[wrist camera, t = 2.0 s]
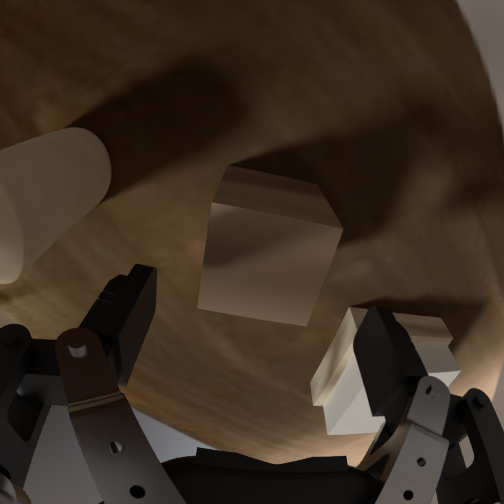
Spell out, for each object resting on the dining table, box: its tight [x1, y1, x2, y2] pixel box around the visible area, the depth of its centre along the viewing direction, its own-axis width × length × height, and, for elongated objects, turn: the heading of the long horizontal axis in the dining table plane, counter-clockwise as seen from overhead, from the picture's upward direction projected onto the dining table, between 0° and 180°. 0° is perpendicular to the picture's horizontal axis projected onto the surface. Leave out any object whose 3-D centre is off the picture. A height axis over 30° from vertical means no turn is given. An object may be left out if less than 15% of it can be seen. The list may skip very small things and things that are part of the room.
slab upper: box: [323, 343, 461, 435], centre depth 20 cm, size 8×8×3 cm
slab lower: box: [310, 307, 453, 406], centre depth 22 cm, size 9×9×3 cm
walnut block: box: [197, 165, 343, 326], centre depth 15 cm, size 5×5×6 cm
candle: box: [0, 127, 112, 284], centre depth 12 cm, size 6×6×10 cm
